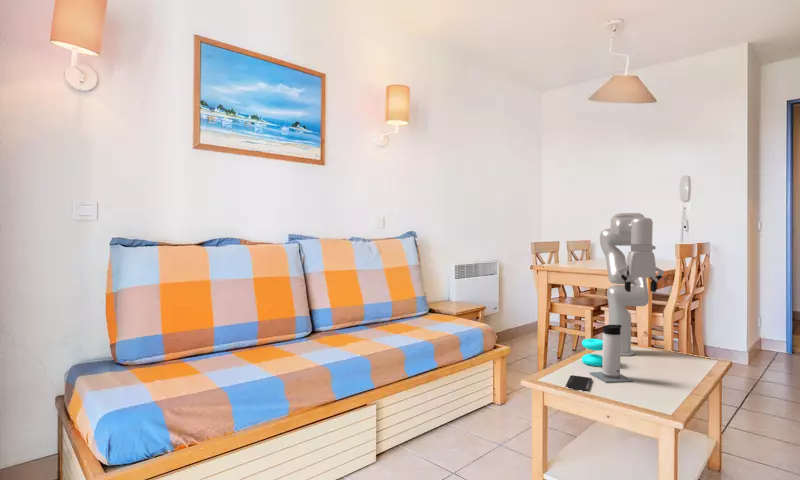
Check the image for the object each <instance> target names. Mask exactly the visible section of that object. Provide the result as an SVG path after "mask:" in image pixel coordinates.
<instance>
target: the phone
mask: <svg viewBox="0 0 800 480" xmlns="http://www.w3.org/2000/svg"><path fill="white" fill-rule="evenodd" d="M592 382H593V378H592V377H586V376H581V375H570V376H569V378H568V380H567V382H566V384H565V388H566V387H568V388H572V389H575V390H576V391H578V390H582V391H581V392H584V391H588V392H589V391H590V388H591V385H592Z"/></svg>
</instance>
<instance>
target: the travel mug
mask: <svg viewBox="0 0 800 480" xmlns="http://www.w3.org/2000/svg"><path fill="white" fill-rule="evenodd" d="M621 327H622V326H621V325H609V324H605V325H603V327H602V330H603V331H602V340H603V350H602V356H603V366H602V369H601V372H602V374H603V376H605V377H608V378H619V377H620V374H621V355H620V349H621V336H620V335H621Z"/></svg>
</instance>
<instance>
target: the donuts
mask: <svg viewBox="0 0 800 480" xmlns="http://www.w3.org/2000/svg"><path fill="white" fill-rule="evenodd" d="M581 345H582V347H583V348H584V349H587V350H590V351H598V352H599V351H603V339H598V338H585V339H583V340H582V341H581ZM581 361H582V363H583V364H585V365H586V366H591V367H592V366H593V367H603V355H600V354H597V353H587V354H584V355H582V356H581Z"/></svg>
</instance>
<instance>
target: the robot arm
mask: <svg viewBox="0 0 800 480" xmlns="http://www.w3.org/2000/svg"><path fill="white" fill-rule="evenodd" d="M653 225H654V221H653V219H652V218H650V217H645V215H644V214H642V213H640V212H623V213H622V212H621V213H619V212H618V213H617V214H614V215H612V218H611V219H610V228H605V229H603V230H602V231H600V234H599V243H600V247H601V251H602V252H603V254H604V257H605V260H606V270H607V277H608V281H609V282H610V283H611V284H615V285H611V286H609V287H608V288H607V290H606V299H607V305H608V325H621V326H622V327H621V335H620V336H621V349H620V357H622V356H624V357H625V356H626V357H627V356H630V357H631V356H634V355H635V350H634V349H632V315H631V313H630V311H629V310H628V309H627V308H626V307H645V306H647V305H648V304H649V300H650V299H649V298H650V296H649V295H650V294H649V287H648V282H647V278H649V279H650V280H651V281H650V285H649V286H650V292H653V293H657V290H658V286H657V285H658V283H659V280H661V279H662V277H663V275H664V274H665V271H664V270H662V269H660V268H659V267H657V266H656V256H655V253H654V252H653V250H656V249H657V248H656V245H654V244H653V232H654V231H653ZM617 246H619V247H621V246H622V247H623V246H625V247H627V246H628V247H630V251H628V253H627V257H626V255H625V254H624V252H623V251H622V250H620V249H619V248H618V247H617ZM657 272H658V273H657ZM656 273H657V274H656Z"/></svg>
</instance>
